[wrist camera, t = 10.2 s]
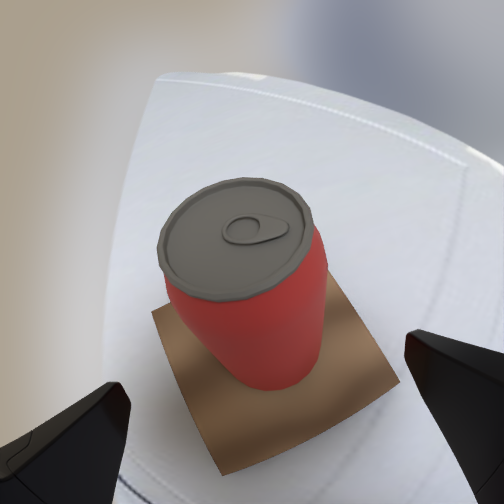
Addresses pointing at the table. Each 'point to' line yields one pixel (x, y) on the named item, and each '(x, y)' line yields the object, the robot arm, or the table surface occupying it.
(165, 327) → the walnut block
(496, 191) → the table surface
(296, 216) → the beer can
